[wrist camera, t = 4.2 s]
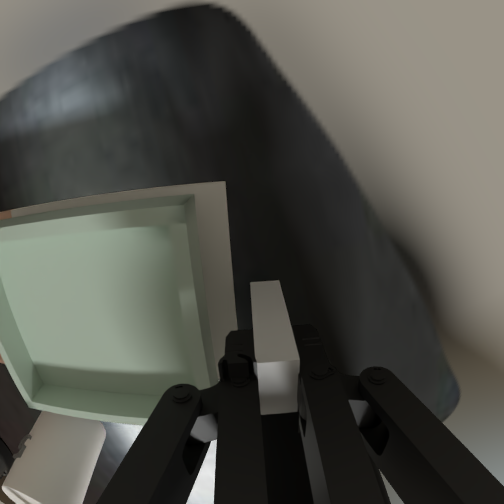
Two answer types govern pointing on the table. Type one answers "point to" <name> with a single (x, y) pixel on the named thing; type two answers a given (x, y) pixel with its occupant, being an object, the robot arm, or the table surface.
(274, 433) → the coffee jar
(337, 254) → the table surface
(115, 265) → the mint green tray
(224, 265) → the board
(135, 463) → the robot arm
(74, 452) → the candle
